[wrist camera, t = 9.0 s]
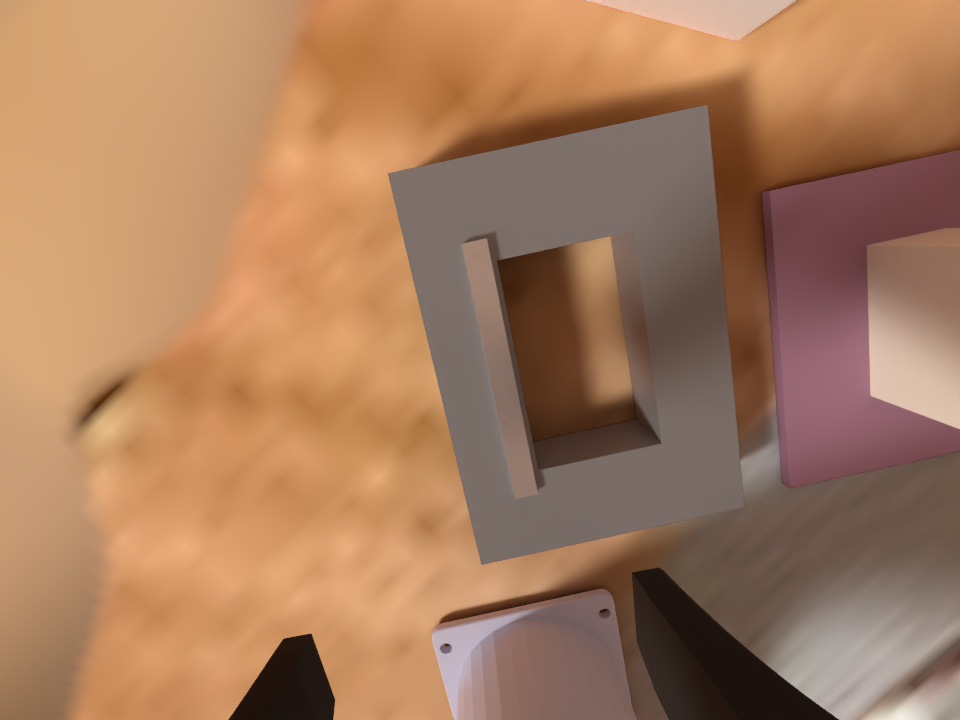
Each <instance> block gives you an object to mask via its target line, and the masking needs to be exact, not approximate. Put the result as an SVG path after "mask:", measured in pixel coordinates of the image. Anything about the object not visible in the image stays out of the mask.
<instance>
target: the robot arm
mask: <svg viewBox="0 0 960 720" xmlns="http://www.w3.org/2000/svg"><path fill="white" fill-rule="evenodd" d="M632 579H633V593H634V607H635V620H636V634H637V643H638V645H639V648H640V651H641V654H642V656H643V659H644V662H645V665H646V668H647V670H648V673H649V675H650V678H651V681H652V683H653V686H654V689H655V691H656V693H657V695H658V698H659V700H660V702H661V704H662V706H663V708H664V710H665V712H666V714H667V716H668V718H669V720H839V719H837V718H836V717H834V716H833V715H832V714H830V713H829V712H827V711H826V710H825V709H823V708H822V707H820V706H819V705H818V704H816V703H815V702H814V701H812V700H811V699H809V698H808V697H807V696H805V695H804V694H803V693H801V692H800V691H799V690H798V689H796V688H795V687H794V686H792V685H791V684H790V683H788V682H787V681H786V680H785V679H783V678H782V677H781V676H780V675H778V674H777V673H776V672H775V671H773V670H772V669H771V668H770V667H768V666H767V665H766V664H765V663H763V662H762V661H761V660H760V659H759V658H757V657H756V656H755V655H754V654H753V653H752V652H750V651H749V650H748V649H747V648H746V647H744V646H743V645H742V644H741V643H740V642H739V641H738V640H736V639H735V638H734V637H733V636H732V635H731V634H730V633H728V632H727V631H726V630H725V629H724V628H723V627H722V626H721V625H719V624H718V623H717V622H716V621H715V620H714V619H713V618H712V617H711V616H710V615H708V614H707V613H706V612H705V611H704V610H703V609H702V608H701V607H700V606H699V605H698V604H697V603H696V602H695V601H694V600H693V599H692V598H690V597H689V596H688V595H687V594H686V593H685V592H684V591H683V590H682V589H681V588H680V587H679V586H678V585H677V584H676V583H675V582H674V581H673V580H672V579H671V578H670V577H669V576H668V575H667V574H666V573H665V572H664V571H663V570H662V569H660V568H654V569H649V570H643V571H638V572H633V573H632ZM602 609H607V610H606V611H605V612H600V610H602ZM432 642H433V646H434V649H435V653H436V657H437V660H438V664H439V667H440V671H441V675H442V678H443V682H444V685H445V689H446V693H447V696H448V700H449V703H450V707H451V710H452V714H453V718H454V720H637V718H636V716H635V713H634V710H633V708H632V704H631V698H630V692H629V686H628V681H627V675H626V669H625V663H624V657H623V651H622V645H621V639H620V633H619V628H618V622H617V616H616V610H615V604H614V600H613V597H612V595H611V593H610V592H609V591H608V590H606V589H596V590H592V591H587V592H583V593H578V594H574V595H569V596H564V597H560V598H555V599H551V600H546V601H542V602H537V603H532V604H528V605H523V606H519V607H514V608H510V609H505V610H500V611H496V612H491V613H487V614H482V615H478V616H473V617H468V618H464V619H459V620H455V621H450V622H446V623H441V624H439V625H437V626H435V627H434V629H433V631H432ZM443 644H450V646H442V645H443ZM334 705H335V698H334V696H333V693H332V690H331V687H330V685H329V682H328V679H327V676H326V673H325V671H324V668H323V665H322V662H321V659H320V657H319V654H318V651H317V648H316V645H315V643H314V640H313V637H312V634H306V635H301V636H296V637H291V638H285V639H283V641H282V642H281V643H280V645H279V646H278V648H277V649H276V651H275V652H274V653H273V655H272V656H271V658H270V659H269V661H268V662H267V664H266V665H265V667H264V668H263V670H262V671H261V673H260V674H259V676H258V677H257V679H256V680H255V682H254V683H253V685H252V686H251V688H250V689H249V691H248V692H247V694H246V695H245V697H244V698H243V699H242V701H241V702H240V704H239V705H238V707H237V708H236V710H235V711H234V713H233V714H232V715H231V717H230V718H229V720H333V715H334Z"/></svg>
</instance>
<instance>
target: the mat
mask: <svg viewBox="0 0 960 720" xmlns="http://www.w3.org/2000/svg"><path fill="white" fill-rule="evenodd" d="M762 204H763V218H764V233H765V247H766V261H767V275H768V289H769V303H770V318H771V332H772V346H773V360H774V374H775V389H776V403H777V417H778V431H779V445H780V459H781V474H782V483H783V484H784V485H786V486H787V487H789V488H794V487H799V486H803V485H808V484H812V483H817V482H822V481H826V480H831V479H835V478H840V477H845V476H849V475H854V474H858V473H863V472H867V471H872V470H877V469H881V468H886V467H890V466H895V465H900V464H904V463H909V462H913V461H918V460H922V459H927V458H932V457H936V456H941V455H945V454H950V453H954V452H959V451H960V429H958V428H955V427H952V426H950V425H947V424H944V423H942V422H939V421H936V420H934V419H931V418H928V417H926V416H923V415H920V414H918V413H915V412H912V411H910V410H907V409H904V408H901V407H899V406H896V405H893V404H891V403H888V402H885V401H883V400H880V399H877V398H875V397H872V396H870V356H869V316H868V276H867V245H871V244H875V243H880V242H885V241H889V240H894V239H898V238H903V237H907V236H912V235H917V234H921V233H926V232H930V231H935V230H939V229H944V228H960V150H955V151H951V152H946V153H941V154H937V155H932V156H927V157H923V158H918V159H914V160H909V161H904V162H900V163H895V164H890V165H886V166H881V167H876V168H872V169H867V170H863V171H858V172H853V173H849V174H844V175H839V176H835V177H830V178H826V179H821V180H816V181H812V182H807V183H802V184H798V185H793V186H788V187H784V188H779V189H775V190H770V191H765V192H762Z"/></svg>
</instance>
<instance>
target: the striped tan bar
mask: <svg viewBox="0 0 960 720" xmlns="http://www.w3.org/2000/svg"><path fill="white" fill-rule="evenodd" d="M867 276H868V316H869V356H870V396H872V397H875V398H877V399H880V400H883V401H885V402H888V403H891V404H893V405H896V406H899V407H901V408H904V409H907V410H910V411H912V412H915V413H918V414H920V415H923V416H926V417H928V418H931V419H934V420H936V421H939V422H942V423H944V424H947V425H950V426H952V427H955V428H958V429H960V228H944V229H939V230H935V231H930V232H926V233H921V234H917V235H912V236H907V237H903V238H898V239H894V240H889V241H885V242H880V243H875V244H871V245H867Z"/></svg>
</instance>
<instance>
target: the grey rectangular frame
mask: <svg viewBox="0 0 960 720" xmlns="http://www.w3.org/2000/svg"><path fill="white" fill-rule="evenodd" d="M388 176H389V180H390V184H391V188H392V192H393V197H394V201H395V205H396V209H397V213H398V218H399V222H400V226H401V230H402V234H403V238H404V243H405V247H406V251H407V255H408V259H409V264H410V268H411V272H412V276H413V280H414V284H415V289H416V293H417V297H418V301H419V305H420V310H421V314H422V318H423V322H424V326H425V330H426V335H427V339H428V343H429V347H430V351H431V356H432V360H433V364H434V368H435V372H436V376H437V381H438V385H439V389H440V393H441V397H442V401H443V406H444V410H445V414H446V418H447V422H448V427H449V431H450V435H451V439H452V443H453V447H454V452H455V456H456V460H457V464H458V468H459V473H460V477H461V481H462V485H463V489H464V493H465V498H466V502H467V506H468V510H469V514H470V519H471V523H472V527H473V531H474V535H475V539H476V544H477V548H478V552H479V556H480V560H481V564H482V565H483V564H488V563H492V562H497V561H501V560H506V559H510V558H515V557H520V556H524V555H529V554H533V553H538V552H543V551H547V550H552V549H556V548H561V547H565V546H570V545H575V544H579V543H584V542H588V541H593V540H597V539H602V538H607V537H611V536H616V535H620V534H625V533H630V532H634V531H639V530H643V529H648V528H652V527H657V526H662V525H666V524H671V523H675V522H680V521H685V520H689V519H694V518H698V517H703V516H707V515H712V514H717V513H721V512H726V511H730V510H735V509H739V508H744V497H743V486H742V475H741V464H740V453H739V443H738V432H737V421H736V410H735V399H734V388H733V377H732V366H731V355H730V344H729V333H728V322H727V312H726V301H725V290H724V279H723V268H722V257H721V246H720V235H719V224H718V213H717V202H716V191H715V180H714V170H713V159H712V148H711V137H710V126H709V115H708V105H704V106H699V107H694V108H690V109H685V110H681V111H676V112H671V113H667V114H662V115H657V116H653V117H648V118H643V119H639V120H634V121H629V122H625V123H620V124H615V125H611V126H606V127H602V128H597V129H592V130H588V131H583V132H578V133H574V134H569V135H564V136H560V137H555V138H550V139H546V140H541V141H536V142H532V143H527V144H523V145H518V146H513V147H509V148H504V149H499V150H495V151H490V152H485V153H481V154H476V155H471V156H467V157H462V158H457V159H453V160H448V161H444V162H439V163H434V164H430V165H425V166H420V167H416V168H411V169H406V170H402V171H397V172H392V173H388ZM608 236H611V241H612V248H613V255H614V262H615V269H616V276H617V283H618V290H619V297H620V304H621V311H622V318H623V325H624V332H625V339H626V346H627V353H628V360H629V367H630V375H631V382H632V389H633V396H634V403H635V410H636V417H637V419H636V420H631V421H627V422H622V423H618V424H613V425H609V426H604V427H599V428H595V429H590V430H586V431H581V432H576V433H572V434H567V435H563V436H558V437H553V438H549V439H544V440H540V441H535V442H533V440H532V435H531V430H530V425H529V420H528V415H527V410H526V405H525V400H524V395H523V390H522V385H521V380H520V375H519V370H518V364H517V359H516V354H515V349H514V344H513V339H512V334H511V329H510V324H509V319H508V314H507V309H506V304H505V299H504V294H503V289H502V284H501V278H500V273H499V268H498V263H497V260H502V259H506V258H511V257H516V256H520V255H525V254H529V253H534V252H539V251H543V250H548V249H553V248H557V247H562V246H566V245H571V244H576V243H580V242H585V241H590V240H594V239H599V238H603V237H608Z"/></svg>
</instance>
